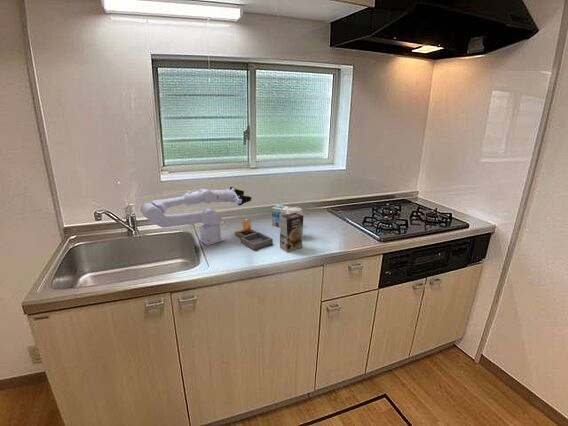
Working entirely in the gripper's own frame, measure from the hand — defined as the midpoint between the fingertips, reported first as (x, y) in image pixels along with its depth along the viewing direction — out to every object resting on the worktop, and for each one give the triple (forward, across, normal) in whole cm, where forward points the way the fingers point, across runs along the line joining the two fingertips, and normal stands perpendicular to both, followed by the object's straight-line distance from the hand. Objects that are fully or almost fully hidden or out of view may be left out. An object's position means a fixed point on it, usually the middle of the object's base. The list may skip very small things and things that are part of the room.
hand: (247, 196), depth 162 cm
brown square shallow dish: (-1, -9, +19) cm, 21 cm away
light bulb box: (+23, -7, +15) cm, 29 cm away
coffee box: (+9, -33, +13) cm, 36 cm away
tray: (-2, -20, +17) cm, 26 cm away
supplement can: (+18, -23, +13) cm, 32 cm away
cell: (-1, -9, +19) cm, 21 cm away
